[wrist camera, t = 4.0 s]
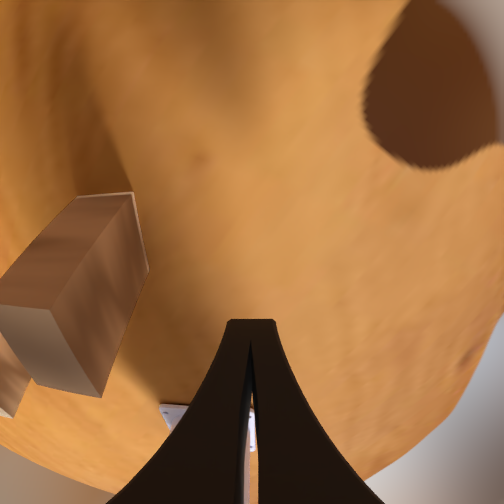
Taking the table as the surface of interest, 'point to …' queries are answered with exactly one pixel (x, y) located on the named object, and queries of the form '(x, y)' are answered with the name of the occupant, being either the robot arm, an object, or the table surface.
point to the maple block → (11, 380)
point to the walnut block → (75, 293)
